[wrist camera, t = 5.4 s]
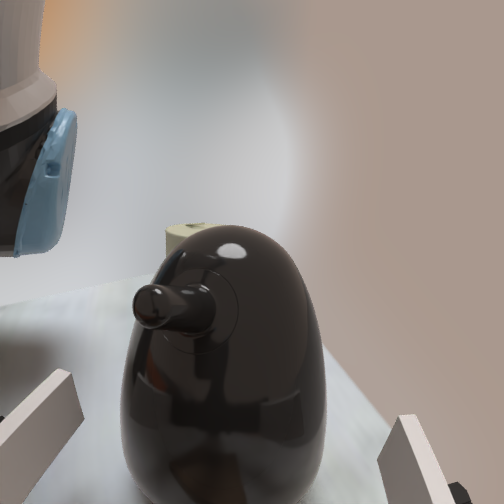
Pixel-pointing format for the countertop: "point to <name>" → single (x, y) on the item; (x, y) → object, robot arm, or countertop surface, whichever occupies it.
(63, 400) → the robot arm
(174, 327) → the pump dispenser
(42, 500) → the countertop surface
